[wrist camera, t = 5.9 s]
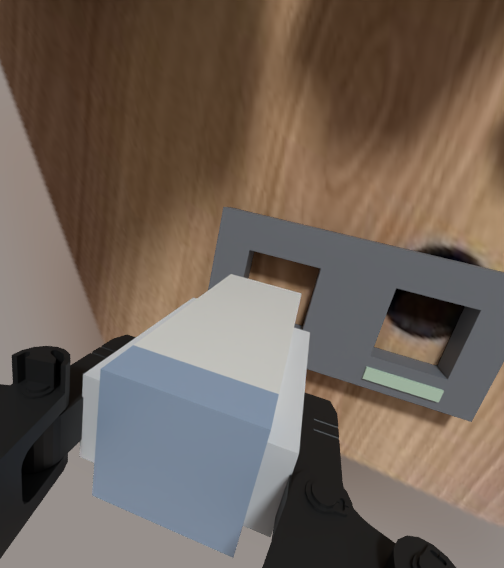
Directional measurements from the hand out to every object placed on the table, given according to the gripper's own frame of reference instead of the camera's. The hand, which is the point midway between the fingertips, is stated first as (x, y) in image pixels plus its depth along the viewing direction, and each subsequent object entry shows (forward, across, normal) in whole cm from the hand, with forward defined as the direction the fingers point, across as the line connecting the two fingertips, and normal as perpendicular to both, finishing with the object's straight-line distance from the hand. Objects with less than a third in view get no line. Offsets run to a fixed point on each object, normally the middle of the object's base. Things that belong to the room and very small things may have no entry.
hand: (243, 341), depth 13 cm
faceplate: (+12, +6, -1) cm, 13 cm away
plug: (+3, 0, 0) cm, 3 cm away
